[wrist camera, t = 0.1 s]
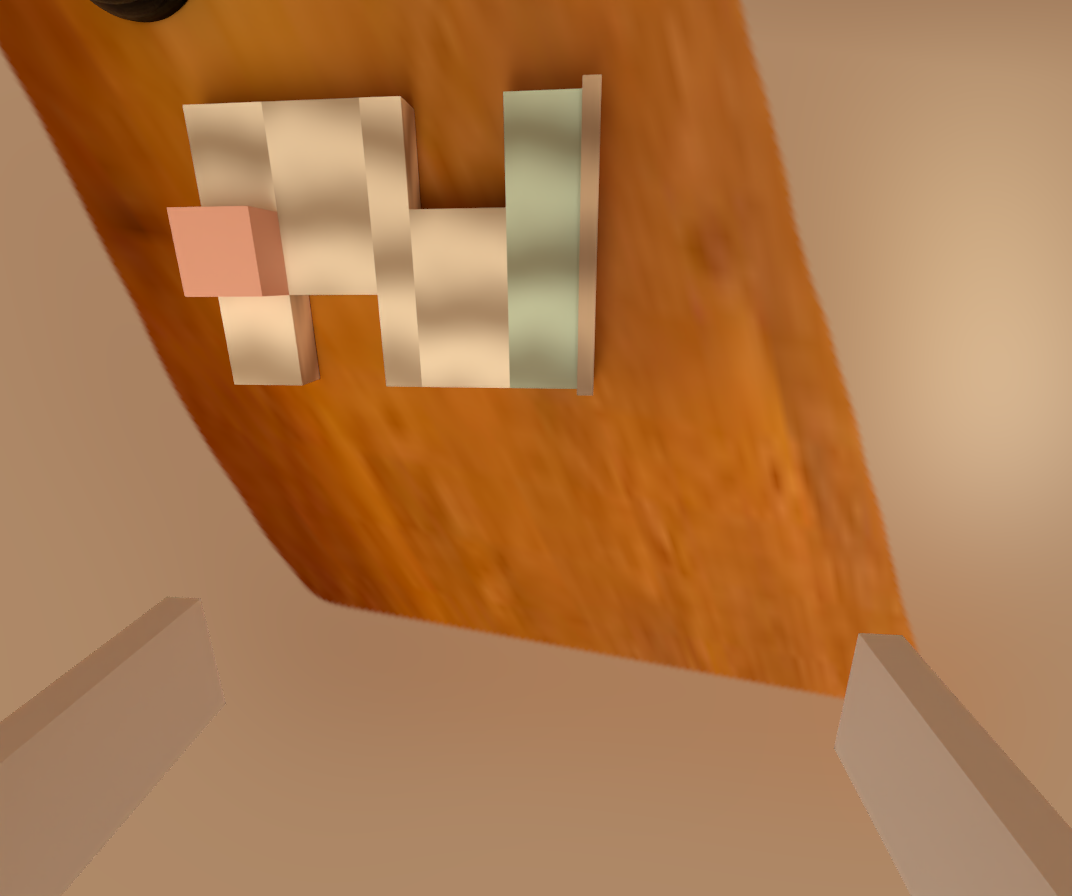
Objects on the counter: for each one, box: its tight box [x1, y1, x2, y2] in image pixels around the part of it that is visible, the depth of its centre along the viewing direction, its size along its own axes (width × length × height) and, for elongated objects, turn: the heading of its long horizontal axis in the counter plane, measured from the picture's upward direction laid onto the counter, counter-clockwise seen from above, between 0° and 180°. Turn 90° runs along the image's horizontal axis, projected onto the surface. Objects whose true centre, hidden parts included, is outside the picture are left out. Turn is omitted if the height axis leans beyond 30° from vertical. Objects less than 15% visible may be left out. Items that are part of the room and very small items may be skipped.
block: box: [167, 206, 289, 297], centre depth 32 cm, size 5×5×3 cm
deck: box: [183, 74, 602, 395], centre depth 33 cm, size 17×25×4 cm
